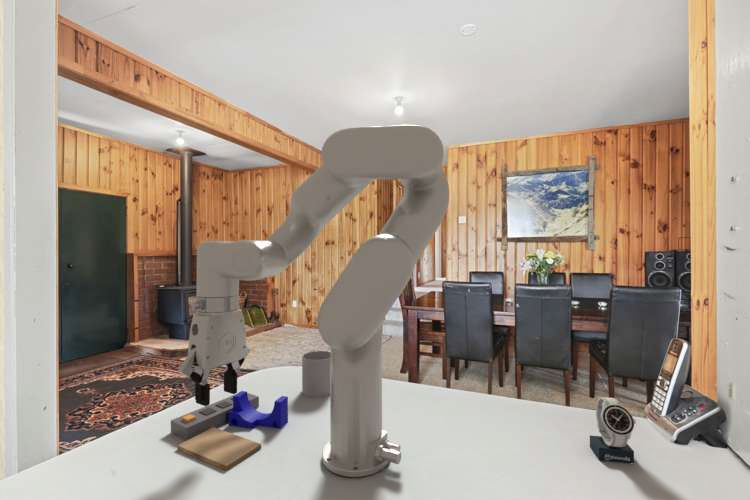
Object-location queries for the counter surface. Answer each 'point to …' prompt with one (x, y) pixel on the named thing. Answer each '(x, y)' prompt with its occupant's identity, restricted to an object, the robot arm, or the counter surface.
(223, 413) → the power strip
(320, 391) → the cup
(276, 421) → the cable clip
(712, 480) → the counter surface
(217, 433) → the wooden board
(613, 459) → the watch
